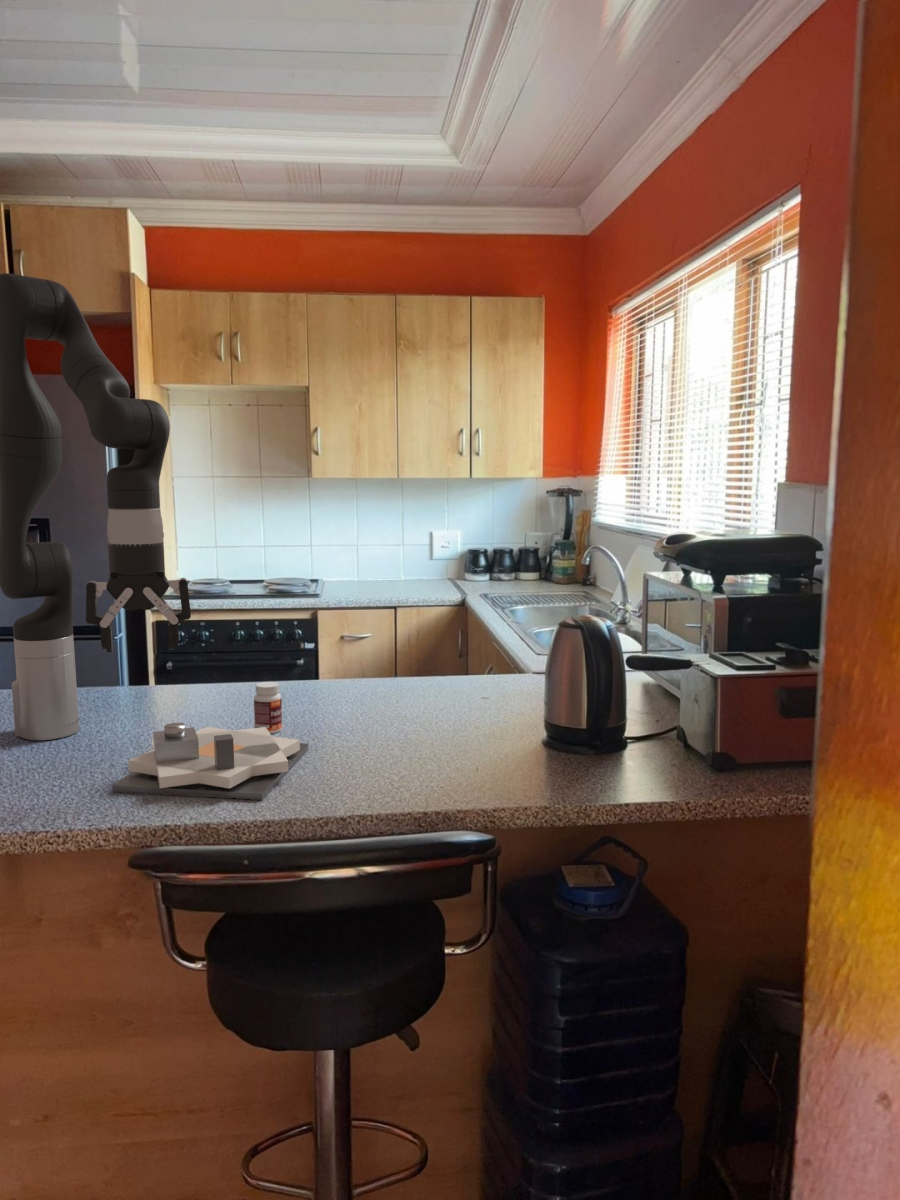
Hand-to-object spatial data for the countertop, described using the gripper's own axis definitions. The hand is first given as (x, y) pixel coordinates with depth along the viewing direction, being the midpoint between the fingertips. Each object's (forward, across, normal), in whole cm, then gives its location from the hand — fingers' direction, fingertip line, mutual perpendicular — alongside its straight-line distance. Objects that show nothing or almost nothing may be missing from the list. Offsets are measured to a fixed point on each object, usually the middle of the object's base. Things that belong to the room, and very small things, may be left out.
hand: (141, 650), depth 122 cm
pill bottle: (+19, +20, +17) cm, 33 cm away
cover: (+16, +4, -1) cm, 17 cm away
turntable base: (+19, +10, 0) cm, 22 cm away
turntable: (+18, +10, 0) cm, 20 cm away
